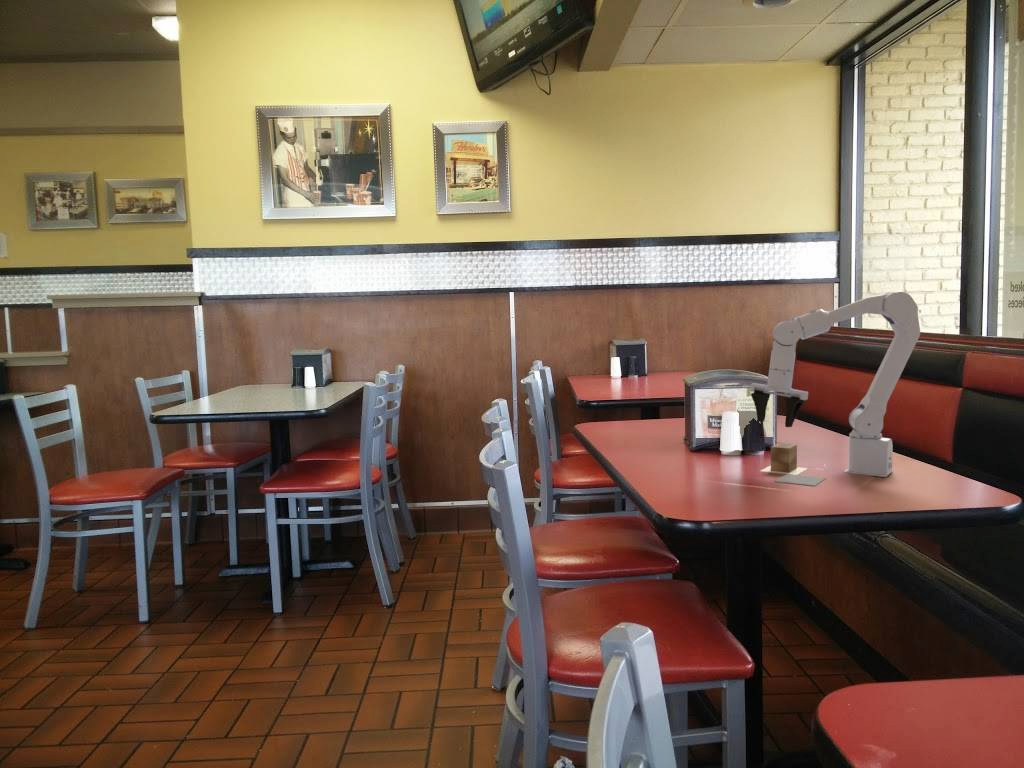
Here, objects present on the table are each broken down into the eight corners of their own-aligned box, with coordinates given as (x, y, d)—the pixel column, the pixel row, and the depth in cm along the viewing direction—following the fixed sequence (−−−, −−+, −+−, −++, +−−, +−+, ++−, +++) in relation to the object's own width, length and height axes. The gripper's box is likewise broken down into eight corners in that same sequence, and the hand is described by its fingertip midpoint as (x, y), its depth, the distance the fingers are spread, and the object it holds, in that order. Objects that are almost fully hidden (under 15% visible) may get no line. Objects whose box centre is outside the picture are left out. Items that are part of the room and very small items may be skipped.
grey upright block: (757, 449, 221) (757, 408, 219) (760, 452, 216) (761, 410, 215) (736, 450, 221) (736, 408, 220) (738, 452, 217) (738, 410, 216)
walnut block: (796, 468, 192) (796, 444, 191) (789, 472, 187) (789, 448, 187) (778, 466, 195) (778, 443, 194) (770, 470, 190) (770, 446, 189)
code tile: (807, 469, 192) (807, 468, 192) (796, 476, 185) (796, 474, 185) (771, 466, 197) (771, 464, 197) (759, 472, 190) (759, 471, 190)
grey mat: (825, 480, 180) (825, 477, 180) (814, 488, 173) (814, 485, 173) (786, 476, 185) (786, 473, 185) (774, 483, 178) (774, 480, 178)
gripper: (746, 366, 193) (740, 419, 194) (800, 374, 182) (793, 430, 184) (761, 366, 197) (755, 418, 199) (815, 373, 187) (807, 428, 188)
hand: (774, 423), depth 192 cm, fingers open, 7 cm apart
